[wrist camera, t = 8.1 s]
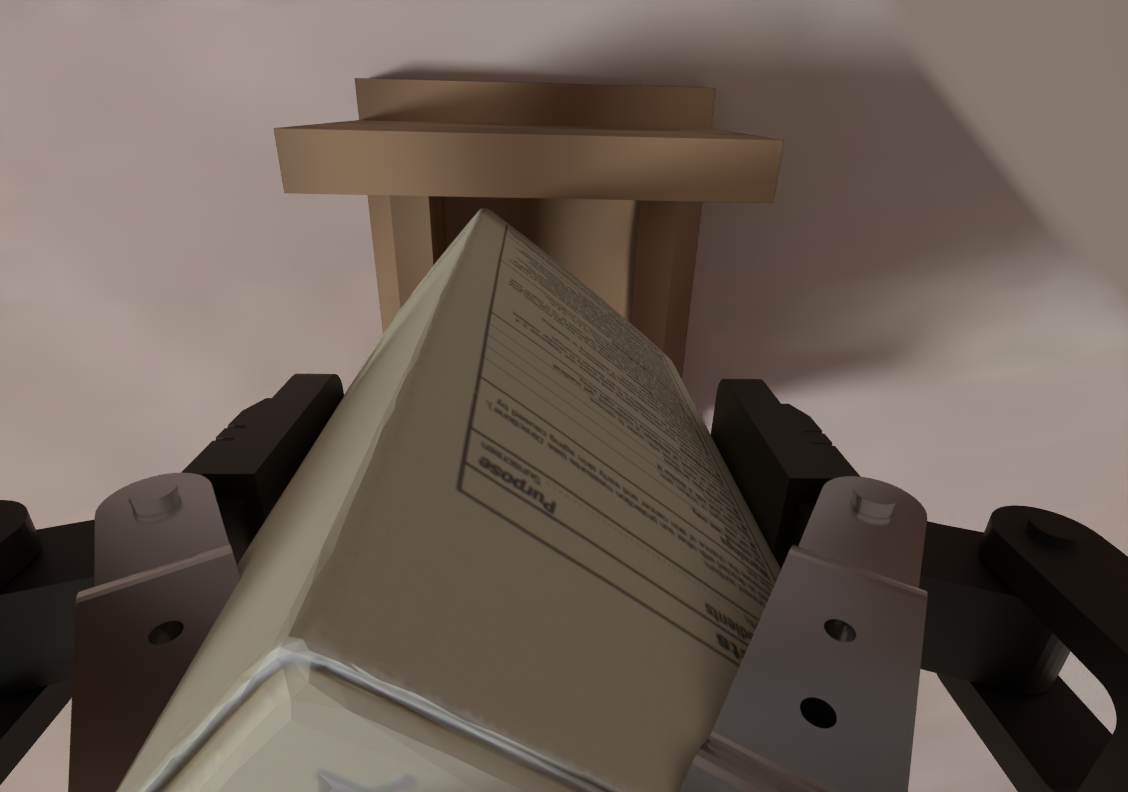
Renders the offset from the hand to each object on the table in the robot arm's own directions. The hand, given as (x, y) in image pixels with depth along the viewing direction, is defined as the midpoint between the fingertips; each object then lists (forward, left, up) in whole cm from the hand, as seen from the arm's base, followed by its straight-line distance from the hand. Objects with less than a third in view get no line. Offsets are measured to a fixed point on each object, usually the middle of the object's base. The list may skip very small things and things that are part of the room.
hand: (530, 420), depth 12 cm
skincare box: (0, 0, -4) cm, 4 cm away
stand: (0, 0, -9) cm, 9 cm away
